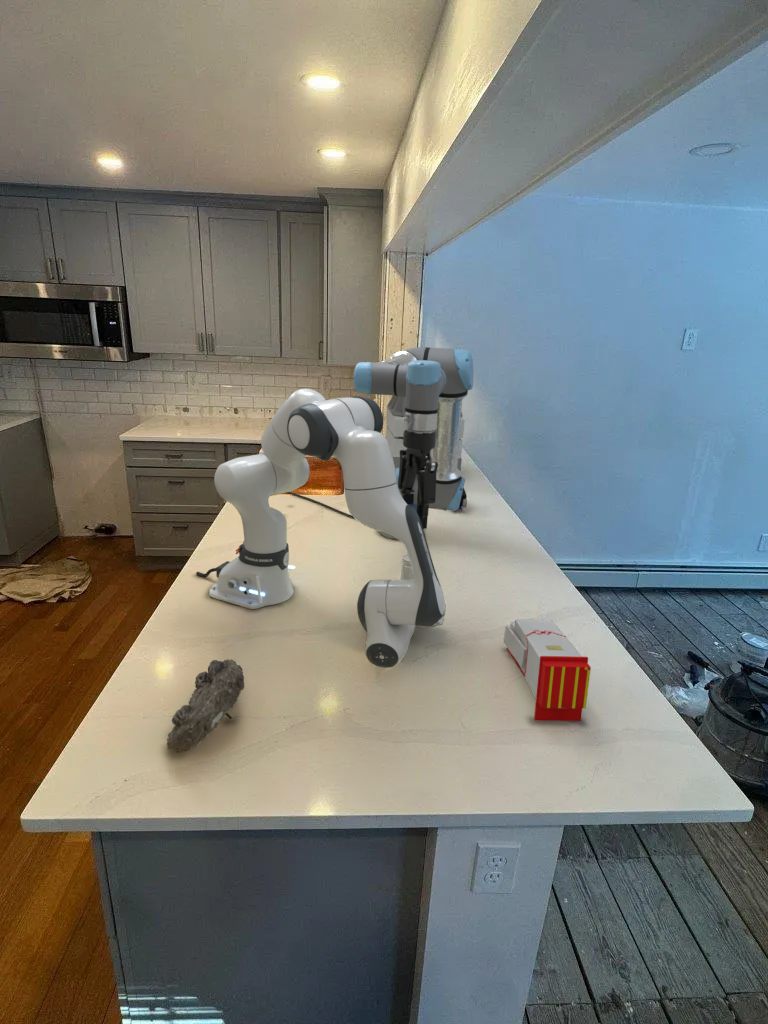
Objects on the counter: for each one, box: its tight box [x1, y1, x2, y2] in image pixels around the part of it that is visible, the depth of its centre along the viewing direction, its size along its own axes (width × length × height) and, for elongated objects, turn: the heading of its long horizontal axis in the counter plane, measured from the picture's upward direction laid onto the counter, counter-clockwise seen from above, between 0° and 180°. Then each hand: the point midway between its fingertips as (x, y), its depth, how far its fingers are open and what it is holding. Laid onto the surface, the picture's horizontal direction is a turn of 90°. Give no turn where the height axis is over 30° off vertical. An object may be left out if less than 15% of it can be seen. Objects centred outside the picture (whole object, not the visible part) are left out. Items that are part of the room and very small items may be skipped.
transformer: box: [385, 395, 465, 472], centre depth 268 cm, size 34×33×41 cm
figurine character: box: [457, 487, 468, 512], centre depth 228 cm, size 7×8×15 cm
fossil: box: [166, 658, 245, 754], centre depth 106 cm, size 22×10×15 cm
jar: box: [399, 553, 415, 580], centre depth 144 cm, size 5×5×17 cm
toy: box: [503, 618, 592, 722], centre depth 122 cm, size 12×13×30 cm
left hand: (409, 592), depth 145 cm, fingers closed on jar, 5 cm apart
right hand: (413, 523), depth 138 cm, fingers closed on lid, 6 cm apart
